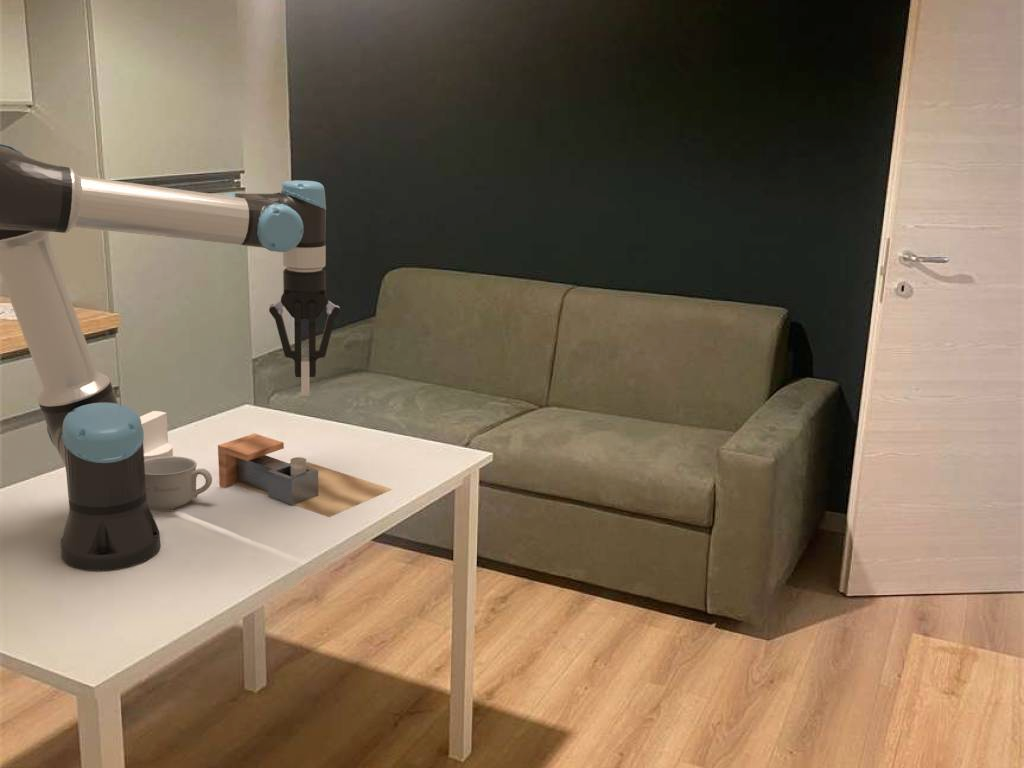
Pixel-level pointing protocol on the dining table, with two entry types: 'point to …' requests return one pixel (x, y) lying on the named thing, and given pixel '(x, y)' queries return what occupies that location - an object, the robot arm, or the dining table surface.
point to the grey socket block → (278, 479)
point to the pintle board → (335, 491)
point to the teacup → (172, 482)
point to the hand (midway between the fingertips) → (305, 393)
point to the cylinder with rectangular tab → (155, 435)
